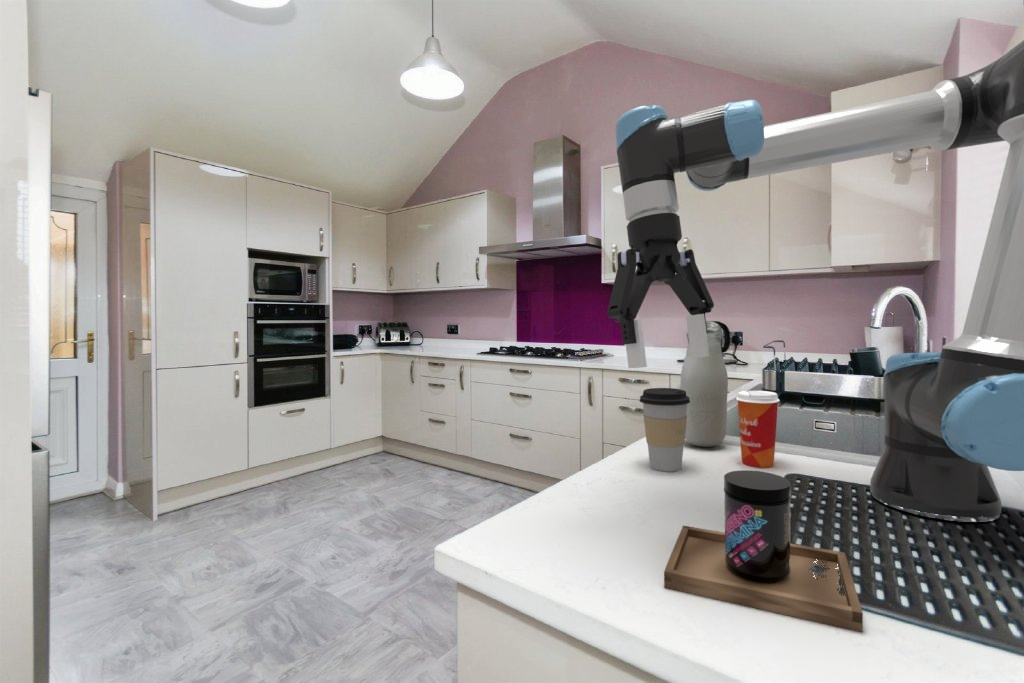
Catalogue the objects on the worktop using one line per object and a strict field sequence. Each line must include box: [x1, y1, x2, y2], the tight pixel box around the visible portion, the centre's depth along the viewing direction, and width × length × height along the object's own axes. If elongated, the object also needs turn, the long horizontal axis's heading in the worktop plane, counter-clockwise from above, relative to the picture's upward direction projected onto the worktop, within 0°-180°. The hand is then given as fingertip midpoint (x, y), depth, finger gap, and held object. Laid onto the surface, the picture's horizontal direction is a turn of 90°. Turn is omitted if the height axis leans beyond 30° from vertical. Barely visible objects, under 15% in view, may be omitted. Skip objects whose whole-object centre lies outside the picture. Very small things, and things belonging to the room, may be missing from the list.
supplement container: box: [723, 469, 792, 583], centre depth 56 cm, size 7×7×10 cm
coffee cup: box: [639, 387, 690, 473], centre depth 96 cm, size 9×9×15 cm
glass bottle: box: [680, 320, 729, 448], centre depth 110 cm, size 10×10×28 cm
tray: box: [663, 525, 864, 633], centre depth 56 cm, size 18×13×2 cm
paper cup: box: [735, 390, 780, 469], centre depth 97 cm, size 8×8×14 cm
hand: (670, 362), depth 72 cm, fingers open, 13 cm apart
